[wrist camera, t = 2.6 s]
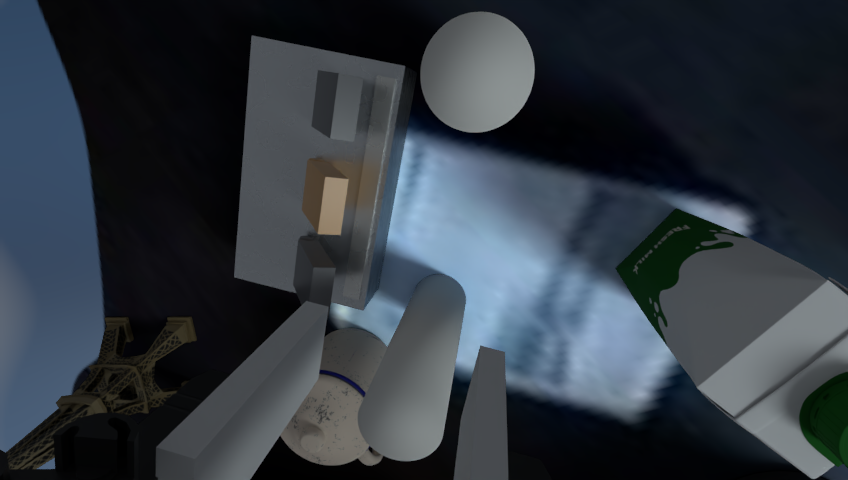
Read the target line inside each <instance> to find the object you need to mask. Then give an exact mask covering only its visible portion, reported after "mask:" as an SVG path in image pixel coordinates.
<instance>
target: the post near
mask: <svg viewBox="0 0 848 480" xmlns="http://www.w3.org/2000/svg"><path fill="white" fill-rule="evenodd" d="M534 70H535V68H534V59H533V53H532V50H531V47H530V45H529V43H528V41H527V39H526V37H525V36H524V34H523V33H522V32H521V31H520V29H519V28H518V27H517V26H516V25H514V24H513V23H512V22H511V21H509V20H507V19H506V18H504V17H502V16H499V15H497V14H493V13H489V12H472V13H466V14H463V15H460V16H458V17H456V18H454V19H452V20H450V21H449V22H447V23H446V24H444V25H443V26H442V27H441V28H440V29H439V30H438V31H437V32H436V33H435V34H434V36H433V37H432V39H431V40H430V42H429V44H428V45H427V47H426V50H425V52H424V55H423V59H422V63H421V71H420V79H421V87H422V91H423V94H424V97H425V100H426V102H427V104H428V105H429V107H430V109H431V110H432V111H433V113H434V114H435V115H436V116H437V117H438V118H439V119H440V120H441V121H443V122H444V123H445V124H447V125H449V126H450V127H452V128H455V129H457V130H461V131H464V132H486V131H489V130H493V129H495V128H498V127H500V126H502V125H503V124H505V123H507V122H508V121H509V120H511V119H512V118H513V117H514V116H515V115H516V114H517V113H518V112H519V111H520V110H521V108H522V107H523V105H524V104H525V102H526V101H527V99H528V96H529V94H530V92H531V89H532V86H533V80H534Z"/></svg>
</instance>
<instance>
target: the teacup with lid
mask: <svg viewBox="0 0 848 480" xmlns="http://www.w3.org/2000/svg"><path fill="white" fill-rule="evenodd" d="M386 350H387V346H386V345H385V344H384V343H383V342H382V341H381V340H380V339H379V338H377V337H376V336H374V335H373V334H371V333H369V332H367V331H364V330H360V329H355V328H344V329H339V330H336V331H333V332H331V333H329V334H328V335H326V336H325V337H324V343H323V350H322V357H321V364H320V370H319V377H318V380H317V382H316V383H315V385H314V386H313V388H312V389H311V391H310V392H309V393H308V395H307V396H306V398H305V399H304V401H303V402H302V404H301V405H300V407H299V408H298V410H297V411H296V413H295V414H294V416H293V417H292V419H291V420H290V421H289V423H288V424H287V426H286V427H285V429H284V430H283V432H282V433H281V435H280V436H281V437H282V439H283V440H284V442H285V443H286V444H287V445H288V447H289V448H291V449H292V450H293V451H294V452H295V453H296V454H298V455H299V456H301V457H303V458H304V459H306V460H309V461H311V462H314V463H317V464H322V465H342V464H346V463H349V462H351V461H353V460H355V459H357V458H358V459H359V460H360V461H361V462H362V463H363V464H365V465H368V466H372V465H375V464H377V463H379V462H380V461H381V459H382V457H383V455H381V454H380V453H378V452H377V451H375V450H374V449H373V450H372V453H371V452H370V451H369V449H368V448H369V447H370V445H369V444H368V443H367V442H366V441H365V439H364V438H363V436H362V434H361V432H360V429H359V426H358V411H359V407H360V405H361V403H362V401H363V399H364V397H365V394H366V392H367V390H368V388H369V386H370V384H371V382H372V380H373V377H374V375H375V373H376V371H377V369H378V367H379V365H380V363H381V361H382V358H383V356H384V354H385V352H386Z"/></svg>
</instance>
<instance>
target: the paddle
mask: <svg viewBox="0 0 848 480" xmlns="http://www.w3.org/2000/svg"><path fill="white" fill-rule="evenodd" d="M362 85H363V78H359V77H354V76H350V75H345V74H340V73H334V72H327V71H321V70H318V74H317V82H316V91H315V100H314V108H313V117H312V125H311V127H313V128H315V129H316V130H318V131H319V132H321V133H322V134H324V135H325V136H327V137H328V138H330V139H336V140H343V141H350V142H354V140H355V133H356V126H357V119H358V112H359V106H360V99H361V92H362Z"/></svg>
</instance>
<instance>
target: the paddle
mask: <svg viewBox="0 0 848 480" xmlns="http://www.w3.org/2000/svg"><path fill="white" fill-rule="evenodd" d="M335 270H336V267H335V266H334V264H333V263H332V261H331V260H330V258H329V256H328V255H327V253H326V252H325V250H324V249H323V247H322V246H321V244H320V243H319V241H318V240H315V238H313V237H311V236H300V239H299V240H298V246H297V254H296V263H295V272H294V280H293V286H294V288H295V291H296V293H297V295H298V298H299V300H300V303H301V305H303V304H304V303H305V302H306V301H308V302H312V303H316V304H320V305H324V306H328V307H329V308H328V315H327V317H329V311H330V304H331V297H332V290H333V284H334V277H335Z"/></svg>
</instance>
